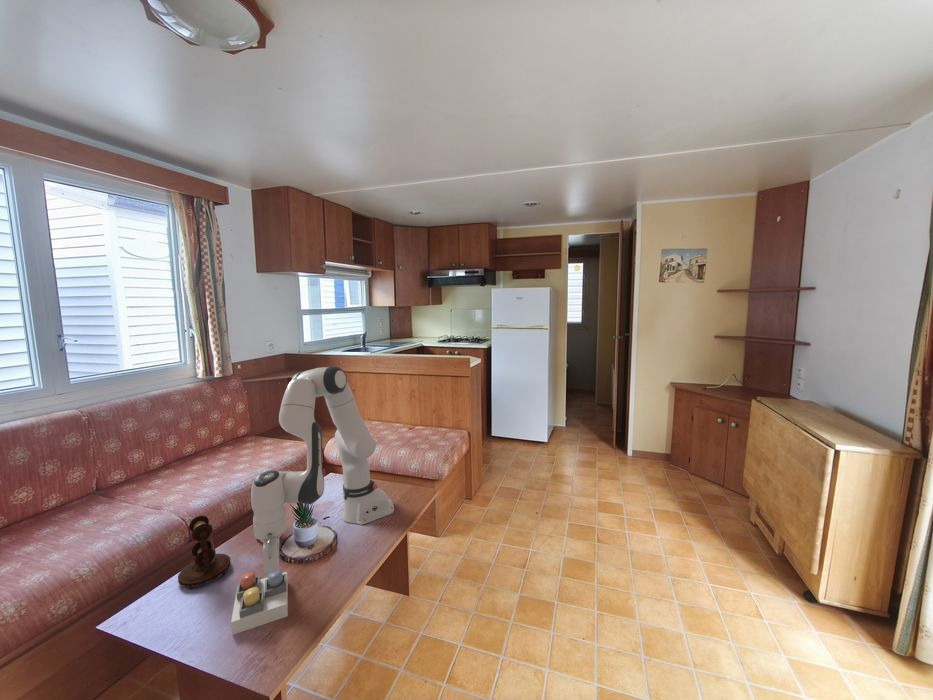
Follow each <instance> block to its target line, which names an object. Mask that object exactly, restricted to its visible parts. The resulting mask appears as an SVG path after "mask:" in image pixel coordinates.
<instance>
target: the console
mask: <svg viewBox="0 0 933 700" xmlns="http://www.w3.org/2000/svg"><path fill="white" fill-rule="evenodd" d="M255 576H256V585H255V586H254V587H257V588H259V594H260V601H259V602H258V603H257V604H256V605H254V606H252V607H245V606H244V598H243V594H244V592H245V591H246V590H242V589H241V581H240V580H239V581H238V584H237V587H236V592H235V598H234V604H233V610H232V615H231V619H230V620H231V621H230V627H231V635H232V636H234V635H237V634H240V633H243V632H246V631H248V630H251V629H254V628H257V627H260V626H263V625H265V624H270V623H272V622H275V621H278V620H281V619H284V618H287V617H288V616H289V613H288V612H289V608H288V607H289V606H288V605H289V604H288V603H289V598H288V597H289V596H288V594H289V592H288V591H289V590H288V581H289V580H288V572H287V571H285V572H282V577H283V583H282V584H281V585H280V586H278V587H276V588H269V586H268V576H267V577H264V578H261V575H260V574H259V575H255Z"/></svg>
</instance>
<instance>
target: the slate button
mask: <svg viewBox="0 0 933 700" xmlns="http://www.w3.org/2000/svg"><path fill="white" fill-rule="evenodd" d="M282 573H283V571H282V570H280V569H278V570H277V571H276V572H273V573H269V574H267V577H268V586H269V588H276V587H278V586H280V585H281V584H282V583H283V577H282Z"/></svg>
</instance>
